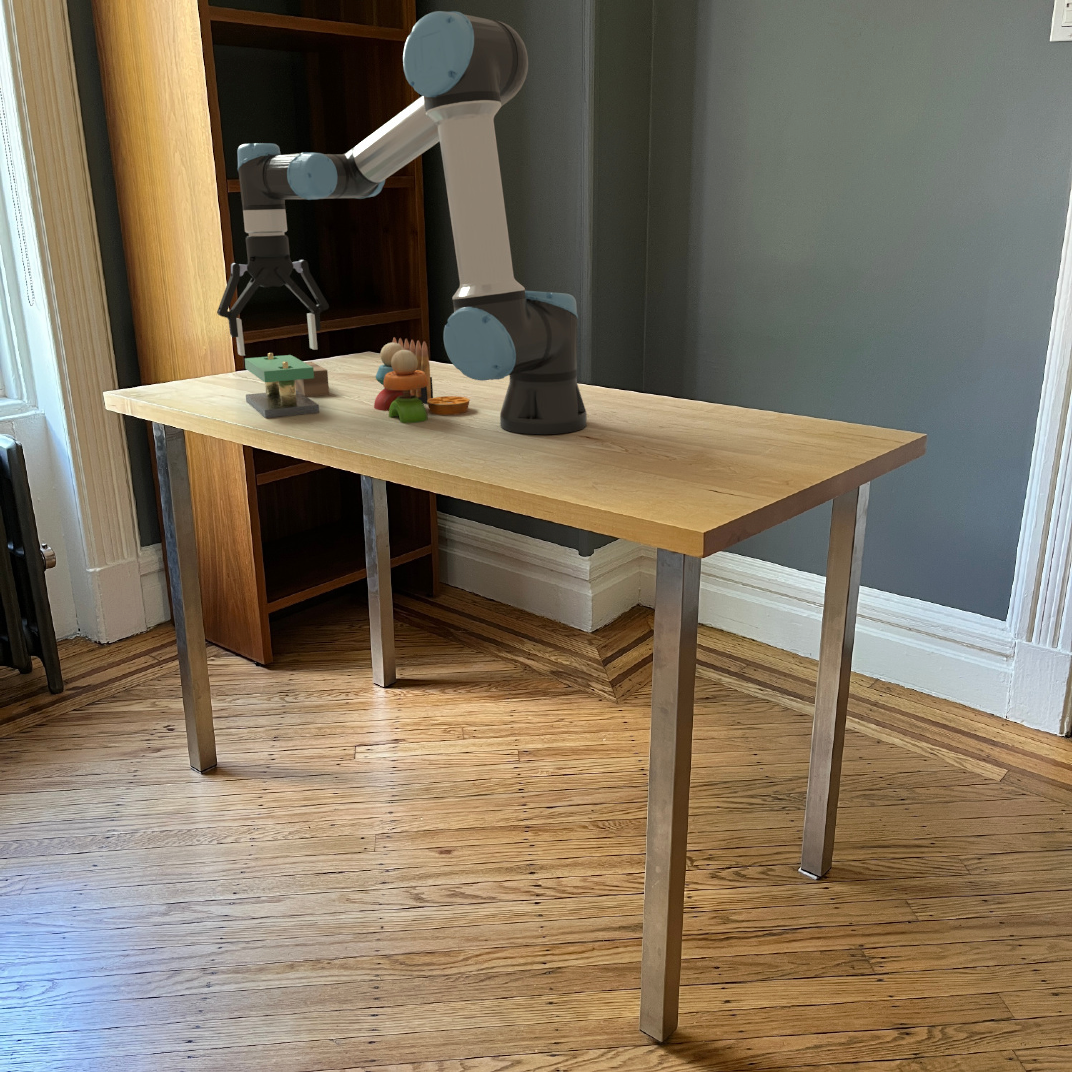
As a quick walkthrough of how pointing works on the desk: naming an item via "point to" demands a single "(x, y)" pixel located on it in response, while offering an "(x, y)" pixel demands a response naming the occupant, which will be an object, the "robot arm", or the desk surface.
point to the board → (279, 368)
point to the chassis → (281, 399)
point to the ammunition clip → (420, 367)
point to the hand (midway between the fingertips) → (278, 351)
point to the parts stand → (314, 382)
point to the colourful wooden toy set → (409, 388)
